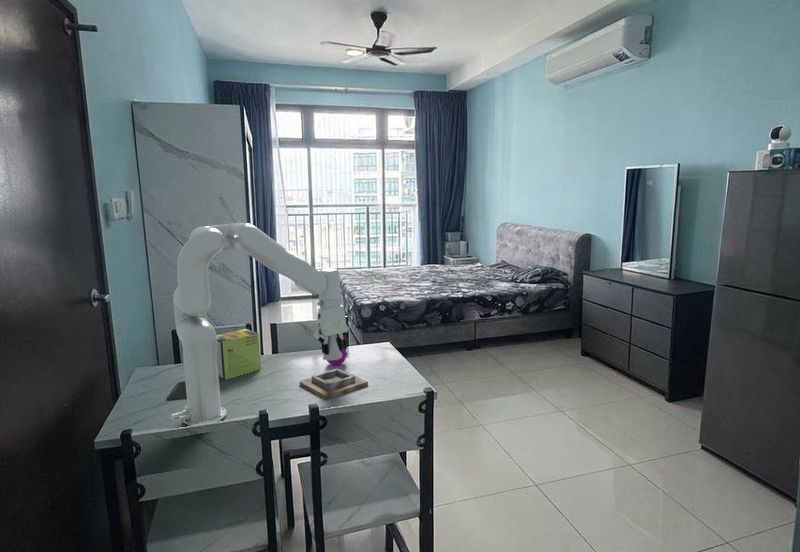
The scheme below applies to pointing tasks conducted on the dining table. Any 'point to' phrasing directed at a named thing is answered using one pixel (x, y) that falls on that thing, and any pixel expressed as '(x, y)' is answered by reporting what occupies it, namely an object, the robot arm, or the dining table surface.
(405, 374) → the dining table surface
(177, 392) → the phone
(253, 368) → the protein box
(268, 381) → the dining table surface
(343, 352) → the headphones
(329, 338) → the flask
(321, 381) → the holder
